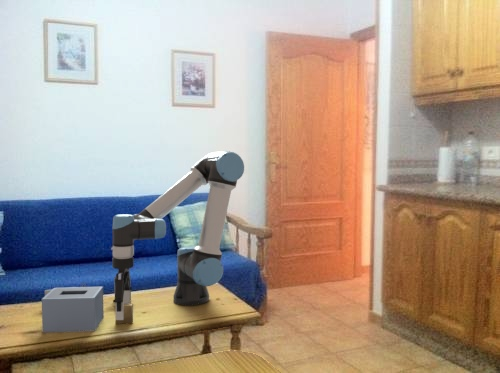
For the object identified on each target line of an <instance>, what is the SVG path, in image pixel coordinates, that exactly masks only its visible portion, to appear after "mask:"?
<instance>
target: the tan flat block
mask: <svg viewBox="0 0 500 373" xmlns="http://www.w3.org/2000/svg"><path fill="white" fill-rule="evenodd" d="M114 321H115V325H118V326H119V325H133V323H134V303H131V302H130V304H124V319H123V320H114Z"/></svg>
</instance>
